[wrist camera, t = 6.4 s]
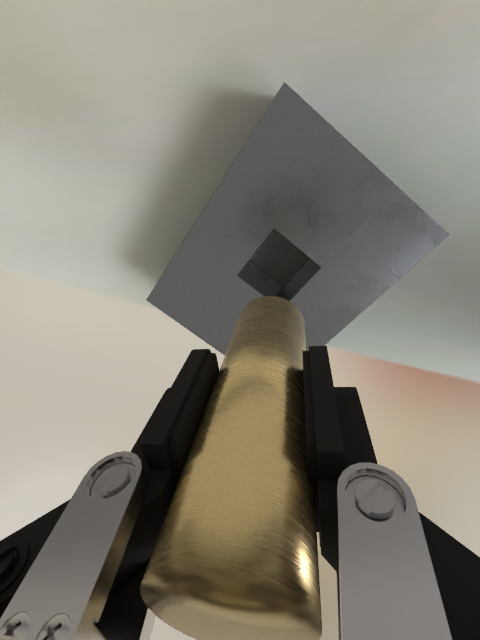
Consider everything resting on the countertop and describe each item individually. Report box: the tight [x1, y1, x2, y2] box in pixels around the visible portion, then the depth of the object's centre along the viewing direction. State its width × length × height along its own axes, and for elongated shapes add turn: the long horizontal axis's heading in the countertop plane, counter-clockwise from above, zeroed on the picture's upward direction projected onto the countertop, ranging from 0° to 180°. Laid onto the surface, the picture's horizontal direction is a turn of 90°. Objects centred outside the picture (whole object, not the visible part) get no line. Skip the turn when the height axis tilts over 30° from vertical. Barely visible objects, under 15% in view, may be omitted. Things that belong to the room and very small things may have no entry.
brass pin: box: [140, 296, 322, 640], centre depth 9 cm, size 3×3×10 cm
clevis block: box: [147, 82, 449, 355], centre depth 25 cm, size 14×18×5 cm
